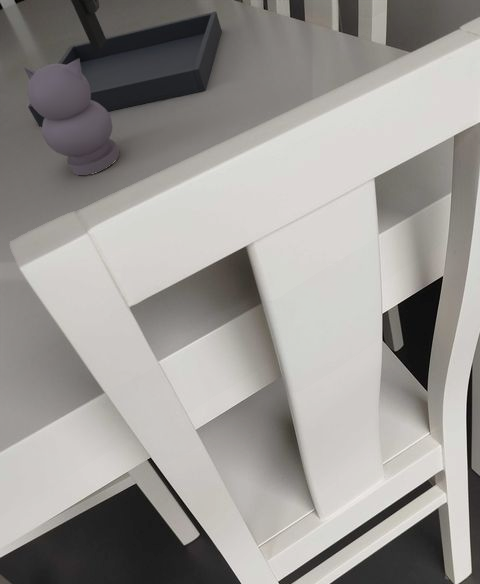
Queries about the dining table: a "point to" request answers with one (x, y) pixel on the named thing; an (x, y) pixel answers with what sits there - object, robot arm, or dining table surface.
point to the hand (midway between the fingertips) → (44, 60)
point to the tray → (148, 63)
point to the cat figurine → (72, 117)
